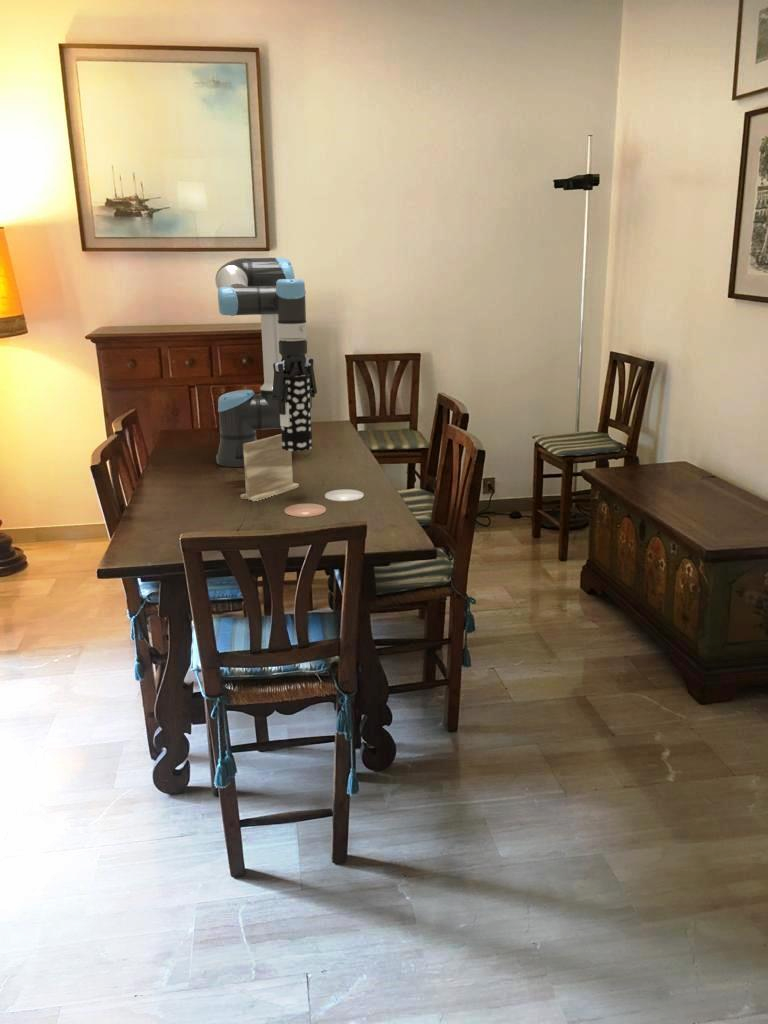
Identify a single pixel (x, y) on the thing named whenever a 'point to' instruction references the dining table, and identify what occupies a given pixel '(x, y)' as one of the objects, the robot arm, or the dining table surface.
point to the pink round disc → (305, 510)
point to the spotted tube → (298, 414)
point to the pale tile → (344, 495)
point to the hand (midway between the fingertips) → (296, 423)
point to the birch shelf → (267, 468)
